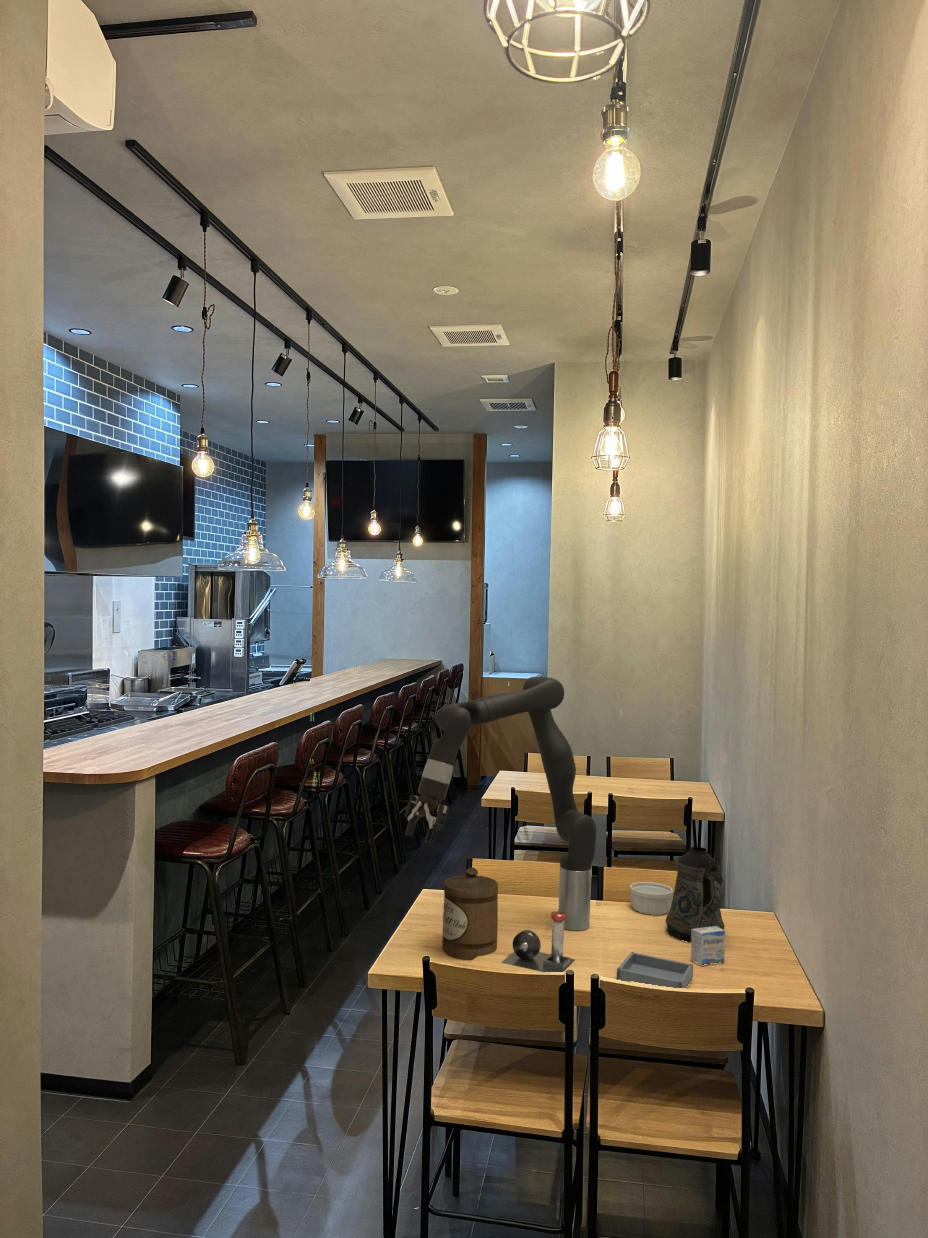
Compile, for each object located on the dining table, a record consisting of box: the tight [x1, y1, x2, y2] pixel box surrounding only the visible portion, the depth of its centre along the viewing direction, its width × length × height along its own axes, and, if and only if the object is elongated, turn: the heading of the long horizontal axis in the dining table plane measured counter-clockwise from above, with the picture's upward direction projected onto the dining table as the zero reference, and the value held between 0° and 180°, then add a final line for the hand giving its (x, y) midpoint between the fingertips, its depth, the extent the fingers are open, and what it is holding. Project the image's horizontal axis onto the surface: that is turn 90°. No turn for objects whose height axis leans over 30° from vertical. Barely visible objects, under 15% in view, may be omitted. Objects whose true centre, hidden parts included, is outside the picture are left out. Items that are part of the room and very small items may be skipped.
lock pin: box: [550, 910, 566, 964], centre depth 224 cm, size 4×4×13 cm
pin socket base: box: [501, 929, 576, 973], centre depth 226 cm, size 12×16×8 cm
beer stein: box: [665, 846, 726, 943], centre depth 252 cm, size 16×19×25 cm
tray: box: [616, 951, 694, 989], centre depth 218 cm, size 13×16×4 cm
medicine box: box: [690, 926, 726, 966], centre depth 232 cm, size 8×4×9 cm, turn 114°
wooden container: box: [442, 866, 499, 961], centre depth 235 cm, size 15×15×22 cm
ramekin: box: [629, 881, 674, 916], centre depth 273 cm, size 13×13×7 cm
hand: (418, 839), depth 227 cm, fingers open, 8 cm apart
